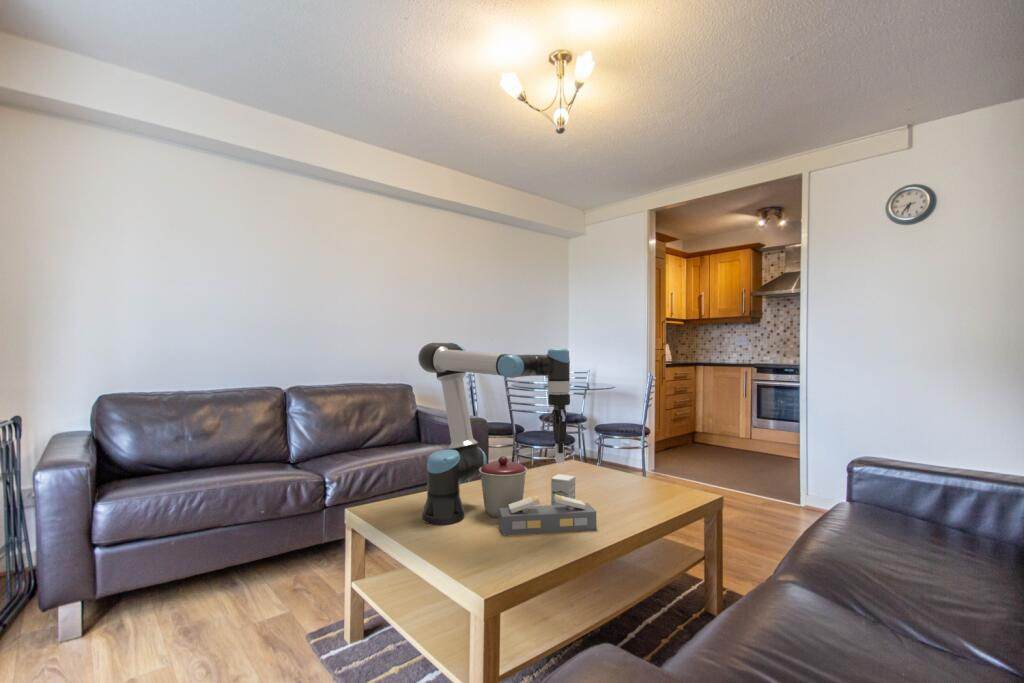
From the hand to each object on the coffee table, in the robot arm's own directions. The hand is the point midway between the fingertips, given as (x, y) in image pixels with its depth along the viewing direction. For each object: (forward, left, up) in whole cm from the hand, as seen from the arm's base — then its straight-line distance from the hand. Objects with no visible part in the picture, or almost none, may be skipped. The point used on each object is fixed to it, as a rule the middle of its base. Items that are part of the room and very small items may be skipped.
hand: (559, 462), depth 163 cm
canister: (-18, +17, -22) cm, 33 cm away
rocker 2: (+3, 0, -14) cm, 14 cm away
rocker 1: (-13, 0, -14) cm, 19 cm away
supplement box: (+5, +17, -22) cm, 28 cm away
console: (-5, 0, -22) cm, 22 cm away
